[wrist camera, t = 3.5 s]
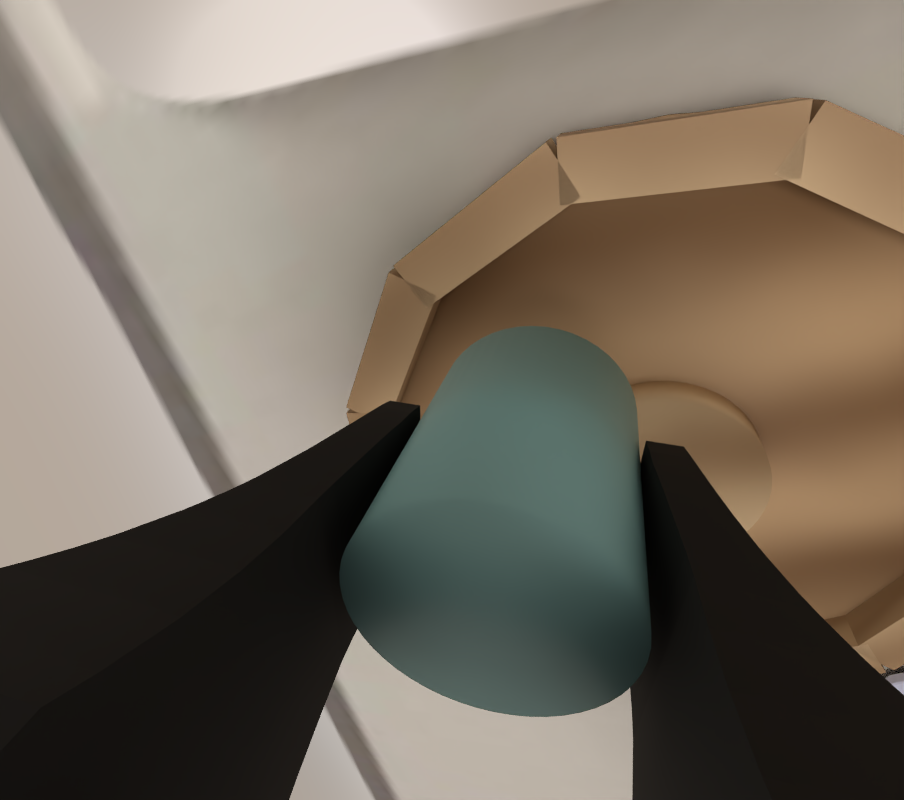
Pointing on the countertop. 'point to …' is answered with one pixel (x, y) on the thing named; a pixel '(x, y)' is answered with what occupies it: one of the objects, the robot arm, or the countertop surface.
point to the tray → (707, 320)
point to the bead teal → (512, 533)
